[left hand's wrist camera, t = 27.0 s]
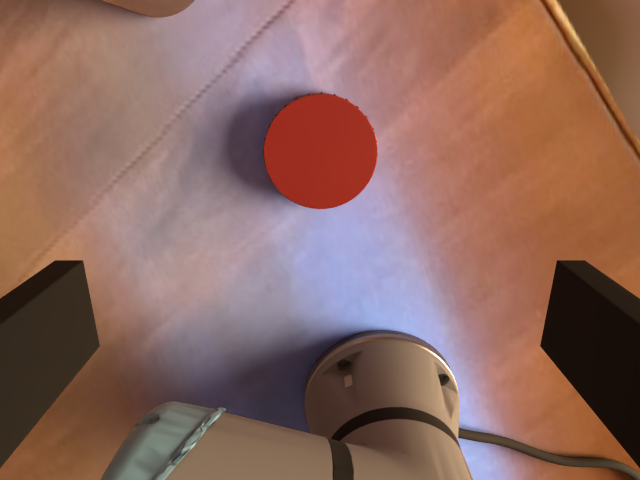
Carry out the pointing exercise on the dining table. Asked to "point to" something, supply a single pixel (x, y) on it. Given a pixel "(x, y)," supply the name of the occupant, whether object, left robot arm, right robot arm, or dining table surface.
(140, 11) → the jar
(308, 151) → the lid
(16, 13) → the dining table surface
